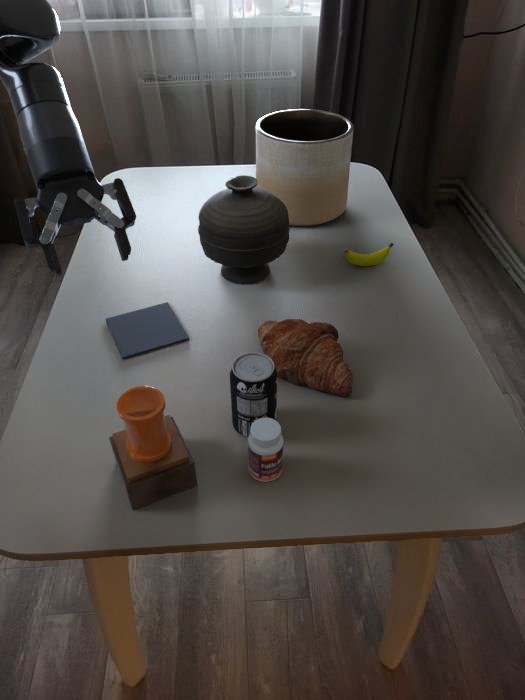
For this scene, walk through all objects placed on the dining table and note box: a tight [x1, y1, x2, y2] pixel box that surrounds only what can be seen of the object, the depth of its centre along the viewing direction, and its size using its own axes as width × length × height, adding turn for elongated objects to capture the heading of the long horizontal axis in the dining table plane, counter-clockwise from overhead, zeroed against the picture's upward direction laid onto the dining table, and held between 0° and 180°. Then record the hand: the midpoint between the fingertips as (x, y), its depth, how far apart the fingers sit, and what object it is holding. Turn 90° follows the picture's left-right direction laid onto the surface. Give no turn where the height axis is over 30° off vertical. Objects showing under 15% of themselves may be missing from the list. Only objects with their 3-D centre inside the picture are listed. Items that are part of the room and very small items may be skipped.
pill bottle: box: [247, 418, 285, 483], centre depth 74 cm, size 5×5×8 cm
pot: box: [197, 174, 291, 286], centre depth 109 cm, size 18×18×20 cm
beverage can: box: [229, 351, 278, 439], centre depth 79 cm, size 7×7×12 cm
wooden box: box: [108, 414, 198, 511], centre depth 75 cm, size 9×9×6 cm
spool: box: [116, 385, 172, 462], centre depth 70 cm, size 6×6×8 cm
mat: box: [105, 301, 190, 360], centre depth 100 cm, size 12×12×1 cm
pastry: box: [257, 318, 354, 398], centre depth 91 cm, size 17×15×8 cm
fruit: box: [344, 242, 395, 267], centre depth 115 cm, size 10×2×5 cm, turn 97°
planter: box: [255, 108, 354, 227], centre depth 130 cm, size 22×22×20 cm
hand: (93, 266), depth 72 cm, fingers open, 8 cm apart
